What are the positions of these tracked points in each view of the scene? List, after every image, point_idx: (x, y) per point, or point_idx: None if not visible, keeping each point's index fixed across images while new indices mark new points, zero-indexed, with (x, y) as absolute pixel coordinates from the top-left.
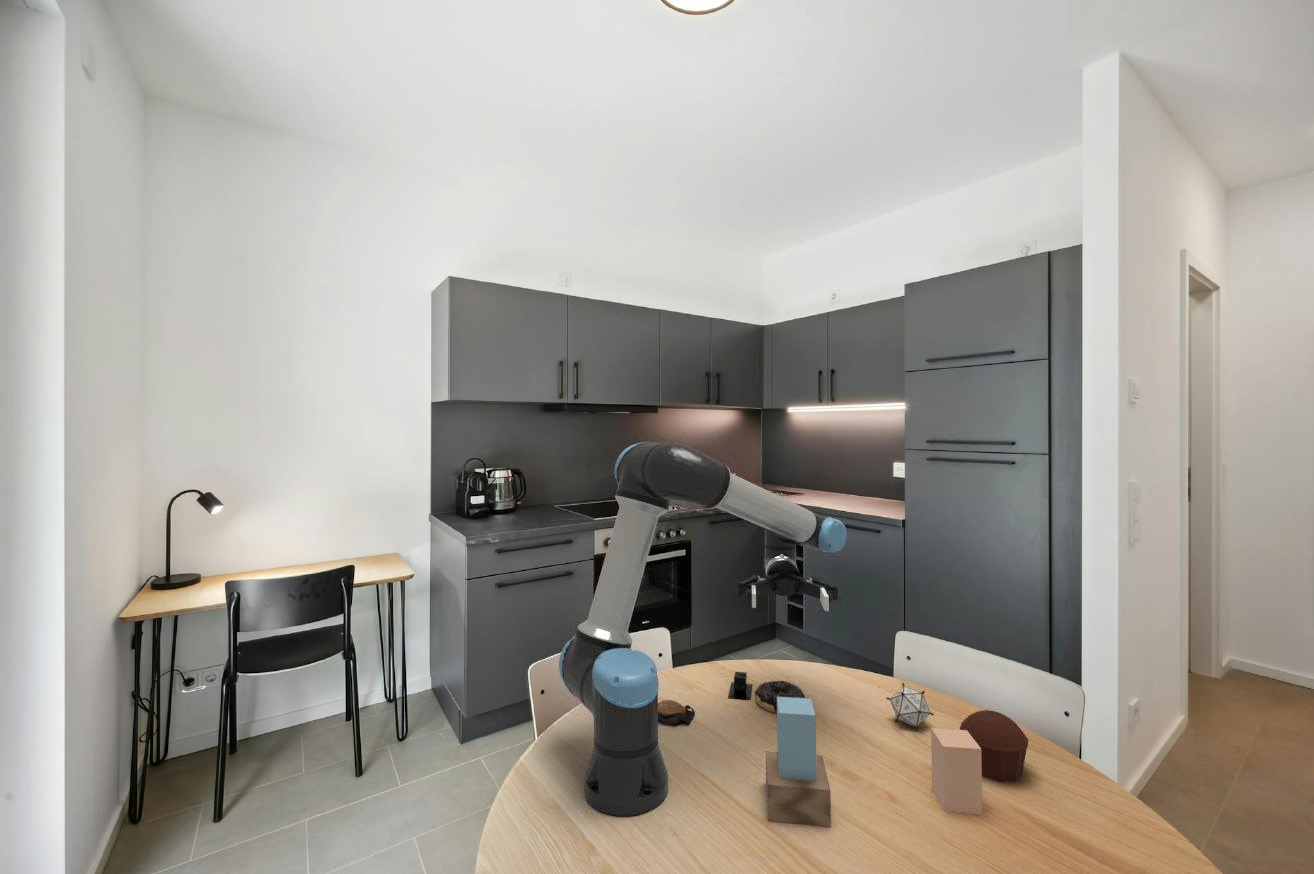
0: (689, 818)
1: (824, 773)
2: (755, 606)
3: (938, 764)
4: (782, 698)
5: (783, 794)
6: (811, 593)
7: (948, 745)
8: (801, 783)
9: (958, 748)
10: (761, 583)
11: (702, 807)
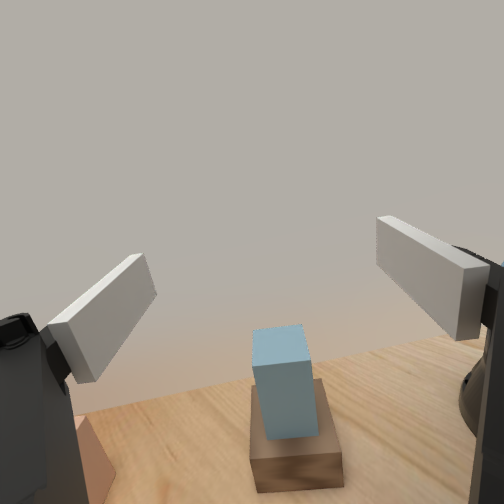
0: (409, 394)
1: (253, 413)
2: (378, 259)
3: (88, 460)
4: (300, 356)
5: None
6: (72, 447)
7: (76, 419)
8: None
9: None
10: (493, 345)
11: (406, 414)
